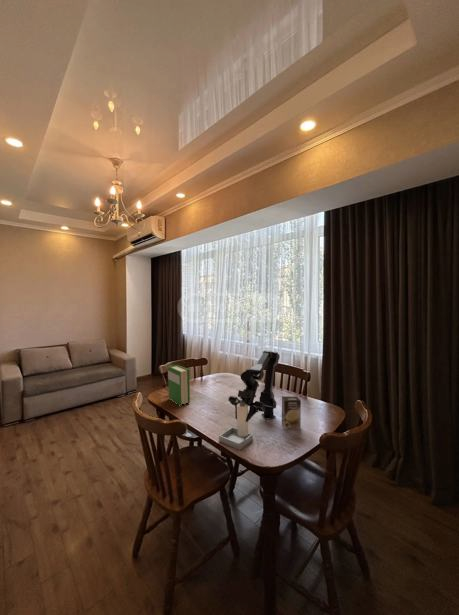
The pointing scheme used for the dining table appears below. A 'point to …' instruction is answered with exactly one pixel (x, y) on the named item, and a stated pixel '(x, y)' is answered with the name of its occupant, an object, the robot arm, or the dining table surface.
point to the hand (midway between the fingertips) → (241, 420)
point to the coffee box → (291, 412)
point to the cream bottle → (242, 419)
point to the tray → (235, 439)
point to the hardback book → (179, 384)
